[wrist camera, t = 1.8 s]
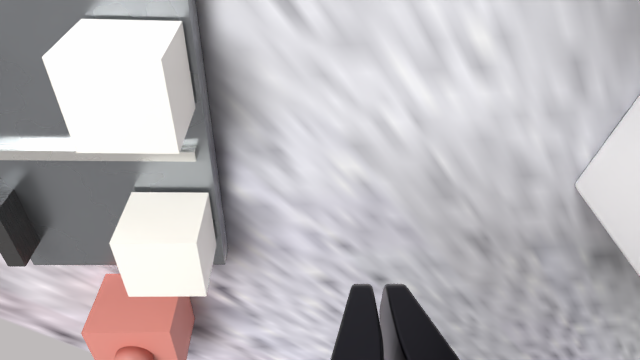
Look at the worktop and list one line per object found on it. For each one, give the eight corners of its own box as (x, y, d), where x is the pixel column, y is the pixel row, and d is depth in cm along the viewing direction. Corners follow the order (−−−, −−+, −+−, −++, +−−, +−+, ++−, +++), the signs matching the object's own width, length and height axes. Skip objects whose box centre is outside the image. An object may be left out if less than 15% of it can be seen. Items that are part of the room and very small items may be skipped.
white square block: (182, 20, 16) (161, 59, 14) (195, 107, 19) (179, 153, 16) (81, 18, 16) (41, 57, 14) (106, 106, 18) (76, 153, 16)
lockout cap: (184, 272, 27) (166, 346, 24) (194, 317, 30) (180, 390, 26) (106, 272, 27) (75, 347, 23) (124, 318, 30) (99, 391, 26)
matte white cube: (208, 192, 21) (196, 243, 19) (217, 248, 24) (207, 300, 21) (131, 192, 21) (109, 243, 19) (148, 248, 24) (130, 300, 21)
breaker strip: (189, -42, 16) (173, -19, 14) (227, 247, 26) (221, 288, 24) (-104, -51, 16) (-168, -28, 14) (44, 248, 25) (19, 289, 23)
